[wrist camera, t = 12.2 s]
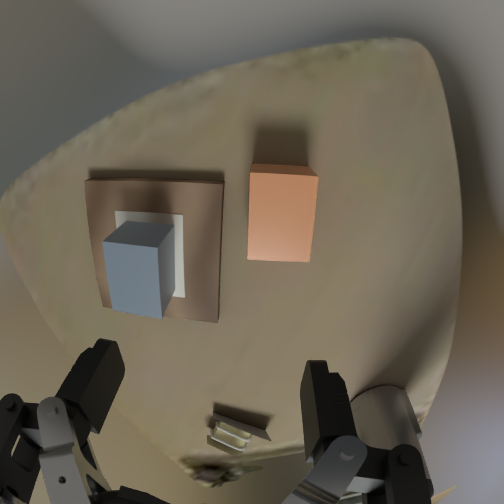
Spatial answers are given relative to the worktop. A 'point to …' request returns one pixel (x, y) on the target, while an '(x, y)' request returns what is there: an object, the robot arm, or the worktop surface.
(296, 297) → the worktop surface
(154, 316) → the slate brick
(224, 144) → the worktop surface
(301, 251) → the terracotta brick
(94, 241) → the plate
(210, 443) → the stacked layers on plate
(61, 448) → the robot arm
